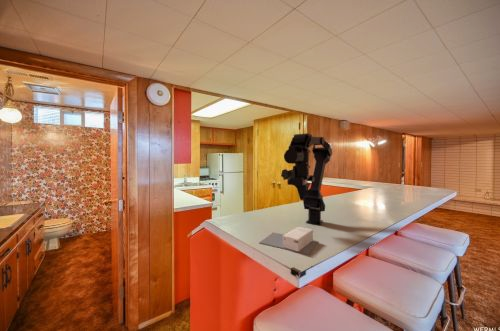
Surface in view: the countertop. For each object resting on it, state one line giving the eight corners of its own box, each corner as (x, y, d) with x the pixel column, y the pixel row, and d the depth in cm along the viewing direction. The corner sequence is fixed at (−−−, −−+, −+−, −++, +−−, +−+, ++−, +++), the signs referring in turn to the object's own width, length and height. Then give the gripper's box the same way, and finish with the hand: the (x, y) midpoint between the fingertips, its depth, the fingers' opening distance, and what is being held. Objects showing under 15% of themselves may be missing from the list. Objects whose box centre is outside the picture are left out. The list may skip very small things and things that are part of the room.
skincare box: (298, 236, 80) (281, 248, 70) (298, 225, 79) (281, 235, 70) (314, 240, 76) (298, 253, 66) (313, 228, 75) (298, 239, 66)
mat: (273, 233, 85) (273, 232, 85) (318, 241, 75) (318, 241, 75) (259, 243, 74) (259, 242, 74) (309, 254, 65) (309, 254, 65)
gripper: (291, 163, 100) (291, 195, 100) (275, 163, 84) (275, 201, 84) (314, 163, 94) (314, 197, 94) (302, 163, 78) (302, 204, 78)
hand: (301, 199), depth 88 cm, fingers closed
